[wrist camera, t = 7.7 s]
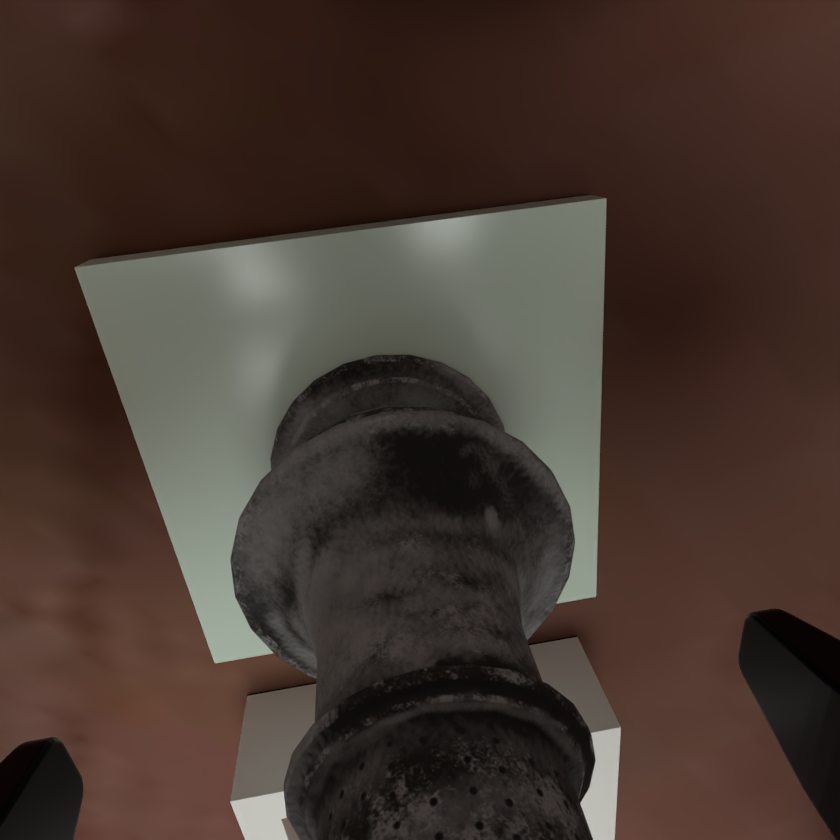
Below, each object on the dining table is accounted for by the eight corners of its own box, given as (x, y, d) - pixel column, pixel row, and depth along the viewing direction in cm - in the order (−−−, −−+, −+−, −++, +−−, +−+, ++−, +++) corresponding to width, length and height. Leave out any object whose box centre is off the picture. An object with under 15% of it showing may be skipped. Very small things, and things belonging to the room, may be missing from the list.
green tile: (590, 194, 12) (606, 198, 12) (584, 576, 17) (596, 596, 16) (90, 259, 12) (74, 267, 11) (220, 639, 16) (215, 663, 15)
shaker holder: (577, 636, 18) (620, 727, 15) (575, 832, 22) (609, 930, 19) (247, 695, 17) (230, 801, 14) (310, 886, 21) (306, 995, 18)
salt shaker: (325, 603, 15) (294, 1827, 4) (205, 404, 12) (-724, 2289, 2) (548, 517, 15) (1139, 1590, 4) (473, 296, 12) (1636, 1684, 1)
